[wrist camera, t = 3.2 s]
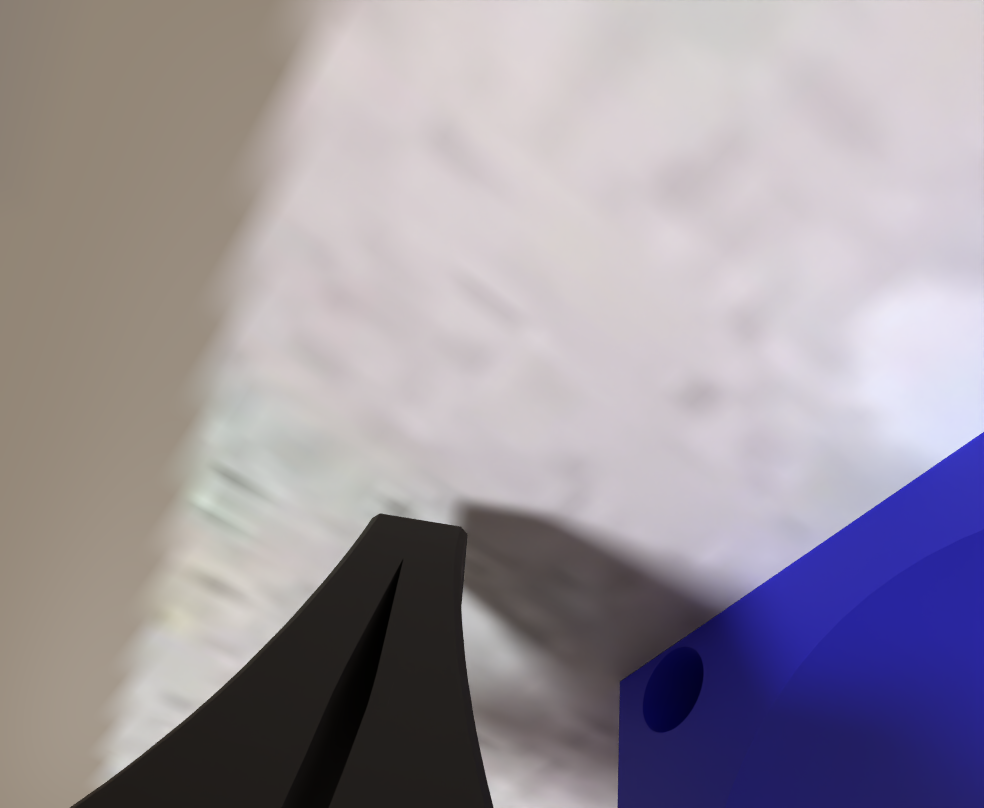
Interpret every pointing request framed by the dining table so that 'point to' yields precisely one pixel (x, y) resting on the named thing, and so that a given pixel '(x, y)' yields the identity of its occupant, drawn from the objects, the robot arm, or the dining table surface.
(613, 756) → the dining table surface
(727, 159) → the dining table surface
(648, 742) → the blue block with holes
